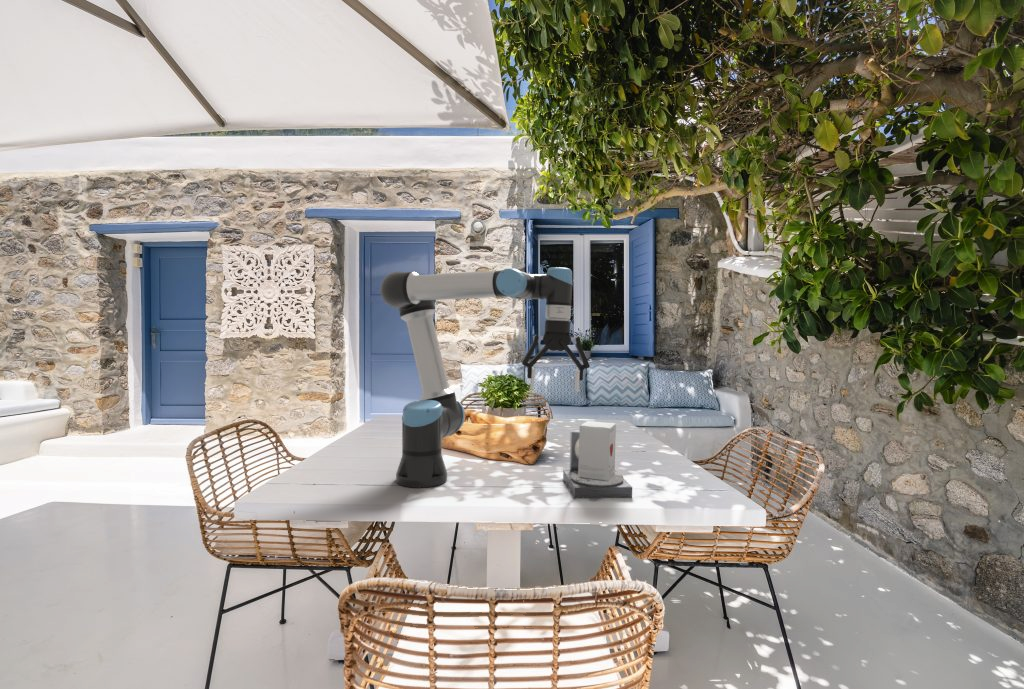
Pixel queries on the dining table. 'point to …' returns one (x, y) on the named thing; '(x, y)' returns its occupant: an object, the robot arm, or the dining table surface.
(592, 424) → the supplement box
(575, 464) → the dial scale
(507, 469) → the dining table surface
